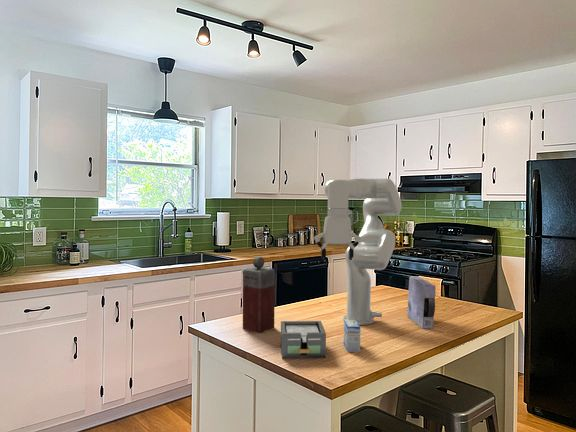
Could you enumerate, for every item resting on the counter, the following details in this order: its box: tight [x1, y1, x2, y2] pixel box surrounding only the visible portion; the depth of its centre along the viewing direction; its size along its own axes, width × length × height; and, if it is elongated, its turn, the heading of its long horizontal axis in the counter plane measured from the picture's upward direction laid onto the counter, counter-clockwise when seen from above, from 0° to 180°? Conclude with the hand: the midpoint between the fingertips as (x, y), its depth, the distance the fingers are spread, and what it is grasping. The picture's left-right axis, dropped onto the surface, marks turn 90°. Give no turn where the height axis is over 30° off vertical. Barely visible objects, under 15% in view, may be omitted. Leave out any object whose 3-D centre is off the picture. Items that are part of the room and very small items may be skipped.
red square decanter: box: [242, 256, 276, 334], centre depth 172 cm, size 9×11×28 cm
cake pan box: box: [406, 275, 437, 330], centre depth 181 cm, size 19×5×18 cm, turn 4°
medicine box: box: [343, 320, 362, 353], centre depth 151 cm, size 8×4×9 cm, turn 2°
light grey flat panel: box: [286, 325, 319, 342], centre depth 146 cm, size 11×14×1 cm
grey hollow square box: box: [280, 320, 327, 360], centre depth 148 cm, size 14×14×8 cm
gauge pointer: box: [299, 349, 309, 353], centre depth 140 cm, size 3×1×1 cm, turn 92°
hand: (337, 259), depth 163 cm, fingers open, 9 cm apart
